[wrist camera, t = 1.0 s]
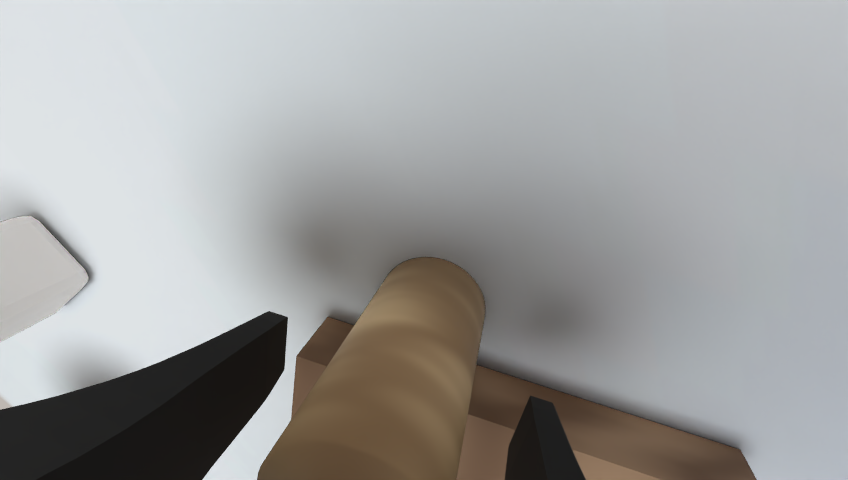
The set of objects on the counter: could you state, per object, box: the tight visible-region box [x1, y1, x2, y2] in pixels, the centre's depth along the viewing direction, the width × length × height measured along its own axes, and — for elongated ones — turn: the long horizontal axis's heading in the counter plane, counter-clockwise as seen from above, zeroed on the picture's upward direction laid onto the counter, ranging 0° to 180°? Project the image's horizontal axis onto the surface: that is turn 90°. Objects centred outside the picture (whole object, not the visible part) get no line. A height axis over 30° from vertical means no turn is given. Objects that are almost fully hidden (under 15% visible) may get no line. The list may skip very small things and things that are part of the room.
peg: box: [257, 257, 485, 480], centre depth 12 cm, size 4×4×8 cm
